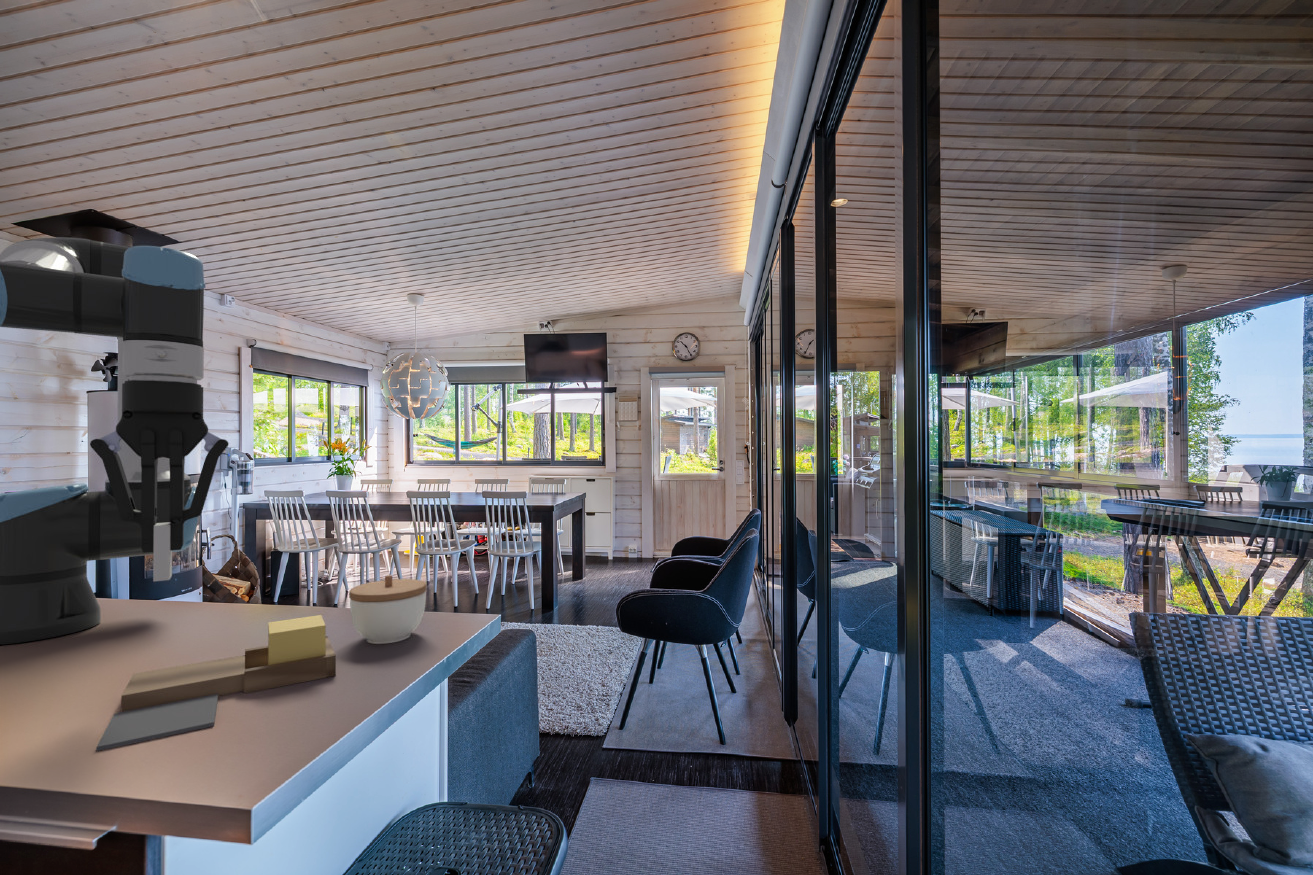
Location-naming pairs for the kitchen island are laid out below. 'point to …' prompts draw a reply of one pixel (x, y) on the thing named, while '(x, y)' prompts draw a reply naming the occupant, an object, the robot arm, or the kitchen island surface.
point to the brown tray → (223, 677)
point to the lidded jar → (387, 609)
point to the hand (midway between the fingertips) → (162, 578)
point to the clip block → (296, 639)
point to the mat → (159, 721)
